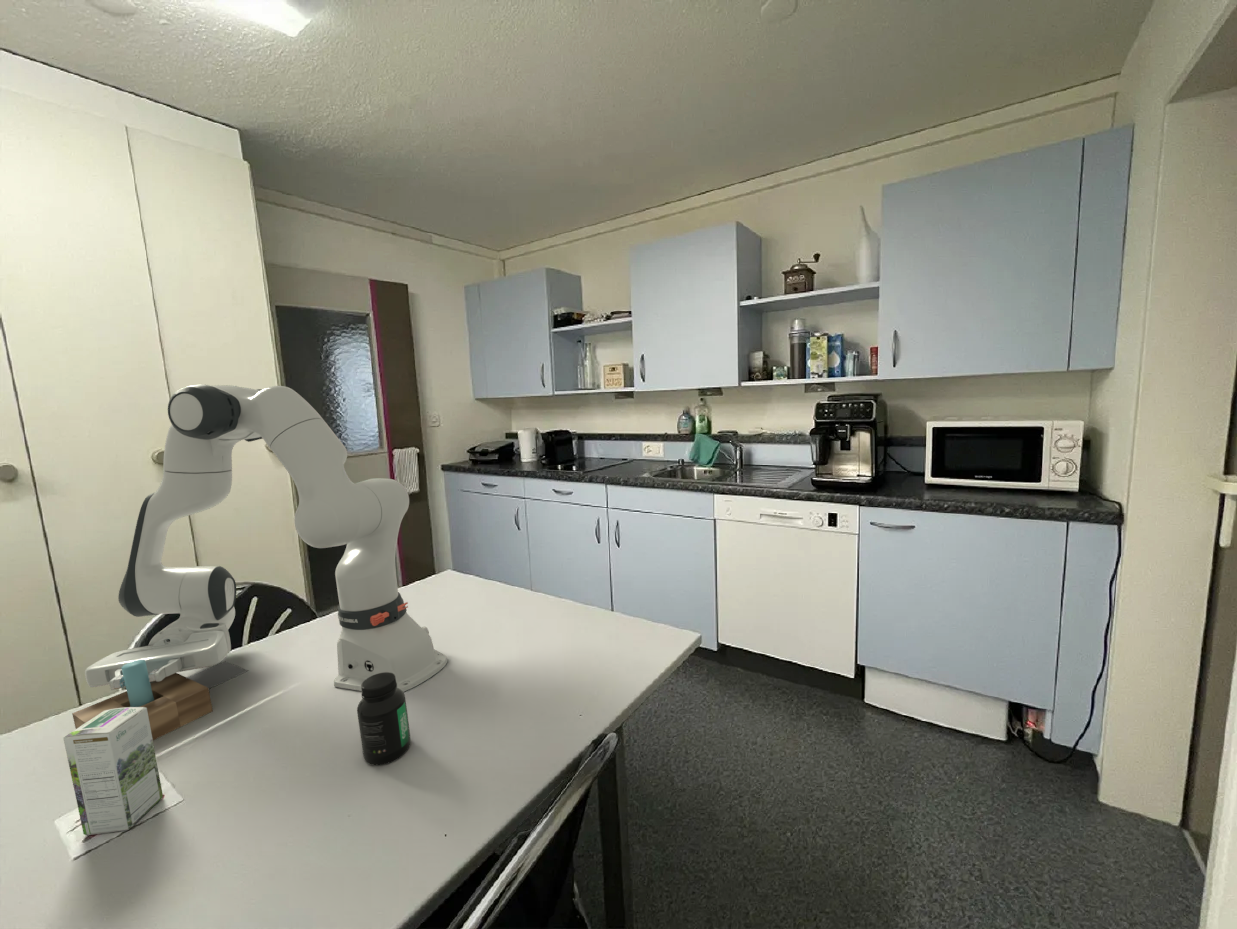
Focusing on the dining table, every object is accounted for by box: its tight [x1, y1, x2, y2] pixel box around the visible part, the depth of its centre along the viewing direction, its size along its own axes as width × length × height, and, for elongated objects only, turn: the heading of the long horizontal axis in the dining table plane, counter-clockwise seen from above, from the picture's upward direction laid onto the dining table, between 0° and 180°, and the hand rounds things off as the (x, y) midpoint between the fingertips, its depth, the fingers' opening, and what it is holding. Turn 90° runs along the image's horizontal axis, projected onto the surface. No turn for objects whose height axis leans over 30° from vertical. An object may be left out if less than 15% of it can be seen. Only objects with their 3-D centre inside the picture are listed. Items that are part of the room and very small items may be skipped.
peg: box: [122, 660, 154, 707], centre depth 87 cm, size 3×3×12 cm
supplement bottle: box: [356, 672, 412, 766], centre depth 77 cm, size 7×7×12 cm
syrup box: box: [63, 707, 164, 836], centre depth 67 cm, size 6×6×14 cm
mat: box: [186, 660, 250, 689], centre depth 103 cm, size 10×10×1 cm
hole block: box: [72, 672, 214, 741], centre depth 88 cm, size 14×14×5 cm
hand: (134, 682), depth 86 cm, fingers open, 4 cm apart
